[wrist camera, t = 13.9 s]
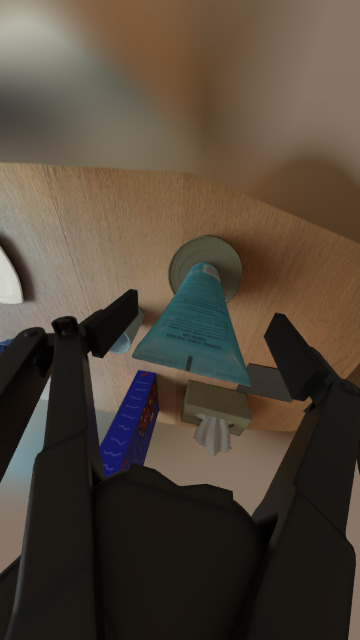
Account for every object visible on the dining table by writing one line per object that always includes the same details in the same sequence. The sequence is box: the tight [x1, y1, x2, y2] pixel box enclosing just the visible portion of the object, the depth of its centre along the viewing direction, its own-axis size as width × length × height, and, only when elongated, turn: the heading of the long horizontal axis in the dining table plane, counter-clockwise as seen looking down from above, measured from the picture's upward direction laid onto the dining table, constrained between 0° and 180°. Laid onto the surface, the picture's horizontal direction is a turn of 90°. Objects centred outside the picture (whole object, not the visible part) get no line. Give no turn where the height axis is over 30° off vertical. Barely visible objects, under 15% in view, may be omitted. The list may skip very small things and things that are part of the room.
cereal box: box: [100, 370, 159, 478], centre depth 44 cm, size 22×6×30 cm, turn 179°
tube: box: [132, 262, 251, 387], centre depth 17 cm, size 7×5×19 cm, turn 86°
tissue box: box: [181, 380, 252, 455], centre depth 45 cm, size 19×10×16 cm, turn 82°
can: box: [168, 235, 243, 303], centre depth 28 cm, size 12×12×7 cm
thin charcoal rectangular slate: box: [236, 363, 293, 402], centre depth 44 cm, size 16×12×1 cm
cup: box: [109, 308, 144, 354], centre depth 36 cm, size 8×8×10 cm
